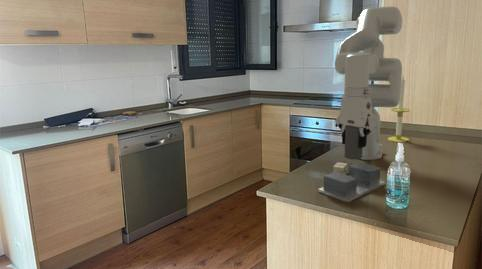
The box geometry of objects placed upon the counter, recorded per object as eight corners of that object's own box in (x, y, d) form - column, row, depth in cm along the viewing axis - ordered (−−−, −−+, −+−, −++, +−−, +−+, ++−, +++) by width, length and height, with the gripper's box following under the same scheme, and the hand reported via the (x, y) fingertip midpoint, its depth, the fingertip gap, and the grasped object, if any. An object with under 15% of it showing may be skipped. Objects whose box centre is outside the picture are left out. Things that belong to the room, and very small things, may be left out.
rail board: (355, 175, 141) (356, 160, 140) (384, 184, 132) (385, 168, 131) (318, 191, 128) (318, 175, 126) (347, 202, 119) (348, 185, 117)
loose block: (336, 172, 146) (337, 162, 145) (347, 173, 144) (347, 163, 143) (332, 176, 142) (333, 166, 141) (343, 177, 140) (343, 167, 139)
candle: (405, 137, 192) (410, 73, 183) (411, 142, 182) (417, 75, 174) (385, 137, 193) (389, 74, 185) (390, 142, 183) (394, 76, 175)
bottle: (363, 155, 128) (366, 113, 124) (359, 160, 123) (362, 116, 119) (346, 153, 131) (348, 111, 127) (342, 158, 126) (343, 114, 122)
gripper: (386, 93, 117) (383, 148, 122) (341, 89, 130) (339, 138, 135) (373, 96, 113) (370, 152, 117) (327, 91, 126) (326, 142, 130)
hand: (353, 144), depth 126 cm, fingers closed on bottle, 5 cm apart
